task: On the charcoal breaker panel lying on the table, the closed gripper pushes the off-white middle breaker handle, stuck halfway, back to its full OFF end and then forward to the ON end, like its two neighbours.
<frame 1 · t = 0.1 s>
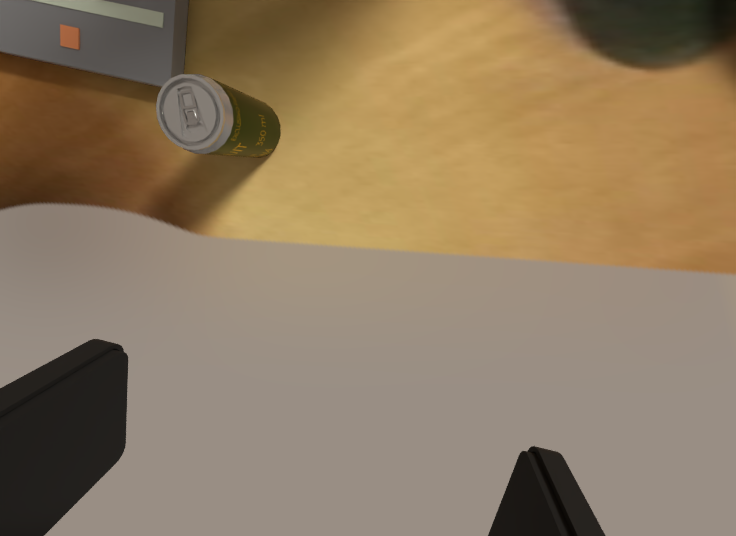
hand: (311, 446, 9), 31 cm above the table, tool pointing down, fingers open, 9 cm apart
beer can: (257, 130, 38), on the table
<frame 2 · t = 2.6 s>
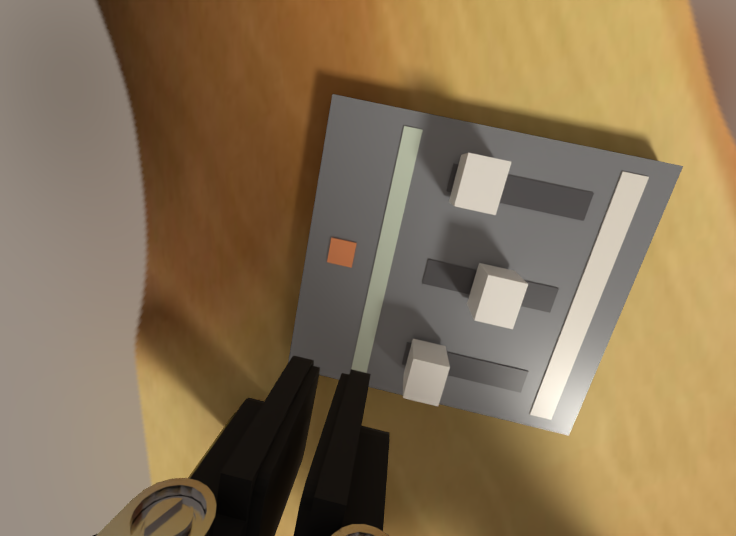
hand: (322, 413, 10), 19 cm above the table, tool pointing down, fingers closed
breaker panel: (457, 271, 28), on the table
tripped handle: (495, 294, 24), point 4 cm above the table, slide at 3.0 cm
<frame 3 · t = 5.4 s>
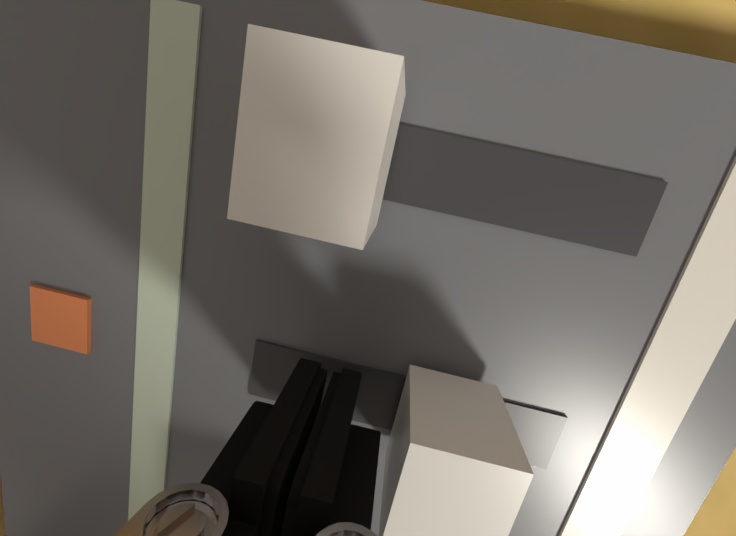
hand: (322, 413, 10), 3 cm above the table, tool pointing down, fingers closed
breaker panel: (345, 354, 13), on the table
tripped handle: (443, 461, 9), point 4 cm above the table, slide at 1.9 cm, touching gripper
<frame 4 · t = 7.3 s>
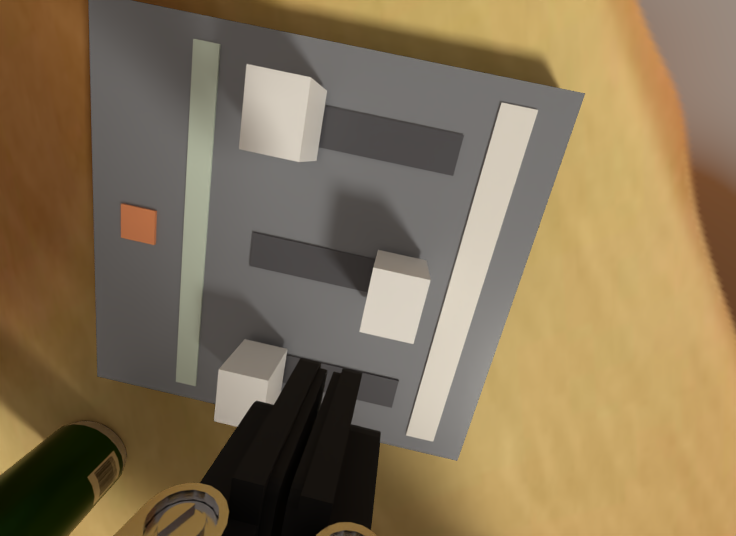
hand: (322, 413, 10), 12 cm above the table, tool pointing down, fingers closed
breaker panel: (308, 249, 21), on the table
tripped handle: (394, 294, 17), point 4 cm above the table, slide at -0.1 cm
beer can: (97, 446, 27), on the table
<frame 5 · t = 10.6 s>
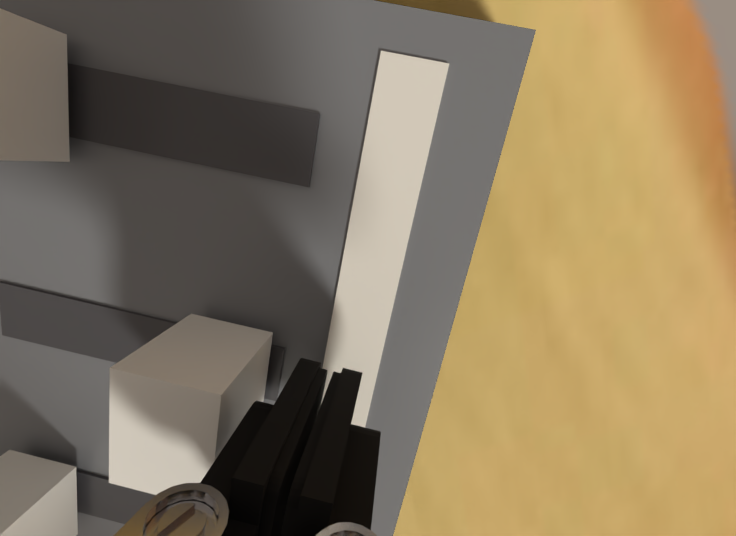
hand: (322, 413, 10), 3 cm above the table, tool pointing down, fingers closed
breaker panel: (125, 303, 13), on the table
tripped handle: (199, 399, 9), point 4 cm above the table, slide at 0.0 cm, touching gripper
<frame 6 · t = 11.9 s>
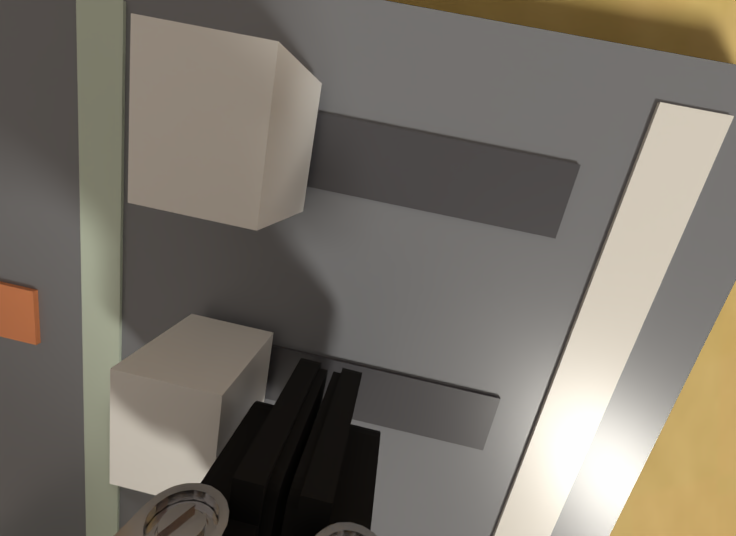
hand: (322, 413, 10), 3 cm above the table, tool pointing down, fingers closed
breaker panel: (295, 342, 13), on the table
tripped handle: (200, 400, 9), point 4 cm above the table, slide at 6.3 cm, touching gripper
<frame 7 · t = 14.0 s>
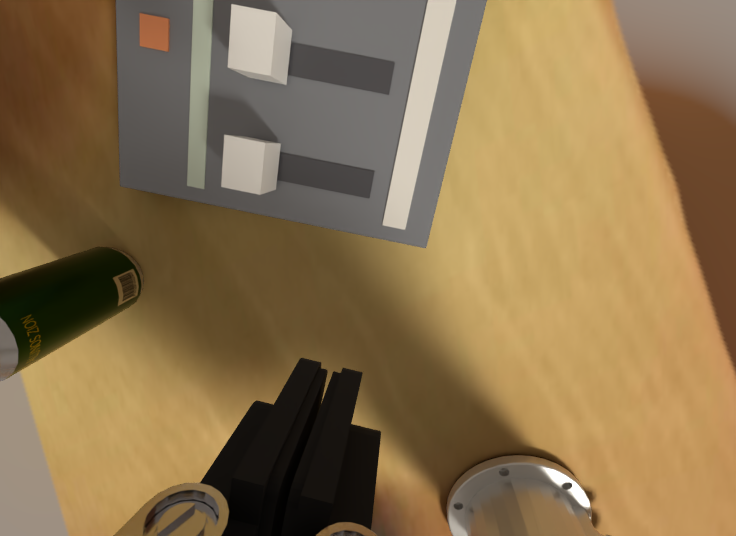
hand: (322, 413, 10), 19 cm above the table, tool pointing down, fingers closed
breaker panel: (297, 66, 25), on the table
tripped handle: (261, 48, 21), point 4 cm above the table, slide at 6.1 cm
beer can: (117, 275, 31), on the table
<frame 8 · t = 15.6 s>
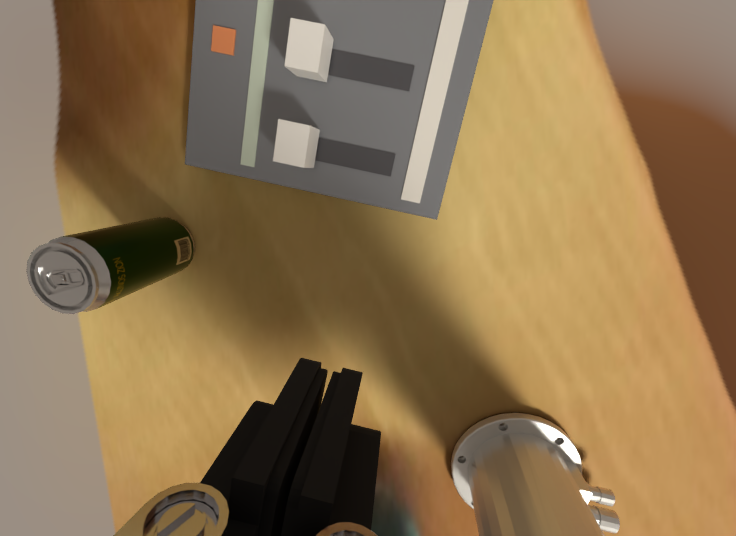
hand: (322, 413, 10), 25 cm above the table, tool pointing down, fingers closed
breaker panel: (334, 68, 31), on the table
tripped handle: (309, 52, 27), point 4 cm above the table, slide at 6.1 cm
beer can: (172, 243, 36), on the table
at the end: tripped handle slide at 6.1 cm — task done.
